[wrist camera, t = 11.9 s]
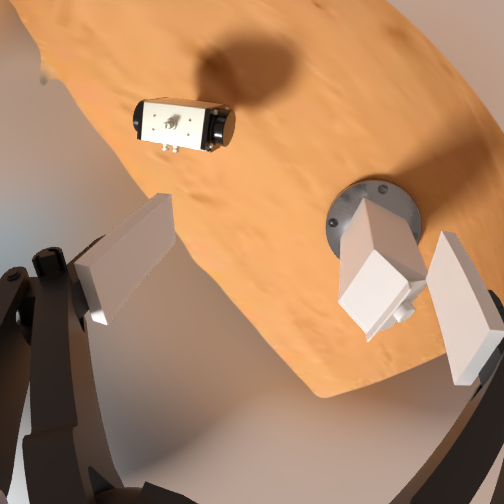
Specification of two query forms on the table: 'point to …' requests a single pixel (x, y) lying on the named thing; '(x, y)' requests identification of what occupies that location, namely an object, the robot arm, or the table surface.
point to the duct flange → (378, 193)
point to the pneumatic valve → (184, 123)
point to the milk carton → (379, 269)
